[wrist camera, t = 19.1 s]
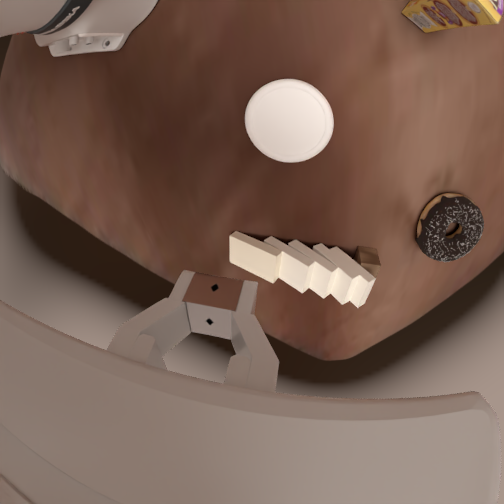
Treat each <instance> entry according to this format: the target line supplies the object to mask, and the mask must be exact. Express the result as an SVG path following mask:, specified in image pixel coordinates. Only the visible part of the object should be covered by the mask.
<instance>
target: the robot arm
mask: <svg viewBox="0 0 504 504" xmlns="http://www.w3.org/2000/svg"><path fill="white" fill-rule="evenodd" d="M157 1H158V0H0V37H2V36H6V35H10V34H15V33H17V35H18V34H19V33H20V32H21V33H22V34H23V33H24V32H27V33H30V34H33V35H34V37H35V40H36V43H37V44H38V45H39V46H41V47H42V46H49V50H50V52H51V54H52V56H54V57H59V56H66V55H73V54H82V53H92V52H105V51H117V50H119V49H120V48H121V47H122V46H123V45H124V43H125V41H126V39H127V38H128V36H129V34H130V32H131V31H132V30H133V29H134V28H135V27H136V26H137V25H139V24H140V23H141V22H142V21H143V20H144V19H145V18H146V17H147V16H148V14H149V13H150V12H151V11H152V9H153V8H154V6H155V4H156V3H157ZM109 42H110V44H109V45H108V43H109ZM257 287H258V282H254V281H247V280H240V279H234V278H227V277H221V276H220V277H219V276H214V275H209V274H204V273H199V272H193V271H188V270H184V271H183V272H182V273H181V275H180V277H179V279H178V280H177V282H176V284H175V287H174V288H173V290H172V292H171V294H170V296H169V298H164V299H162V300H161V301H159V302H158V303H156V304H154V305H153V306H151V307H149V308H148V309H146V310H144V311H143V312H141V313H140V314H138V315H136V316H135V317H133V318H131V319H130V320H128V321H126V322H125V323H123V324H122V325H120V326H119V328H118V330H117V332H116V333H115V335H114V337H113V339H112V341H111V343H110V345H109V347H108V348H107V350H104V349H101V348H98V347H96V346H93V345H90V344H88V343H85V342H83V341H81V340H79V339H76V338H74V337H72V336H69V335H67V334H64V333H63V332H60V331H58V330H56V329H54V328H52V327H50V326H48V325H46V324H44V323H42V322H40V321H38V320H35V319H34V318H32V317H30V316H28V315H26V314H24V313H22V312H20V311H19V310H17V309H15V308H13V307H12V306H9V305H8V304H6V303H5V302H3V301H1V300H0V504H497V502H498V495H499V486H500V475H501V441H500V429H499V422H498V418H497V415H496V412H495V411H494V410H493V408H492V407H491V406H490V404H489V403H488V402H487V401H486V399H485V398H484V397H483V396H482V395H481V394H480V393H479V392H475V391H471V392H464V393H457V394H450V395H440V396H430V397H417V398H398V399H348V398H327V397H314V396H301V395H293V394H284V393H276V392H275V389H276V381H277V374H278V366H279V360H278V358H277V356H276V355H275V353H274V351H273V349H272V347H271V345H270V343H269V341H268V339H267V338H266V336H265V334H264V332H263V330H262V328H261V326H260V324H259V322H258V320H257V319H256V317H255V315H254V311H255V304H256V296H257ZM190 332H197V333H202V334H207V335H213V336H217V337H222V338H226V339H231V341H232V343H233V346H234V349H235V351H236V354H237V355H234V356H232V357H231V358H230V362H229V366H228V369H227V374H226V377H225V381H224V384H222V383H217V382H213V381H208V380H204V379H199V378H195V377H191V376H187V375H183V374H179V373H175V372H172V371H168V370H167V368H166V365H165V363H164V360H163V358H162V357H163V356H164V355H165V354H166V353H167V352H168V351H169V350H171V349H172V348H173V347H174V346H176V345H177V344H178V343H179V342H180V341H181V340H183V339H184V338H185V337H186V336H187V335H189V334H190Z"/></svg>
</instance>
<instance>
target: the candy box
mask: <svg viewBox="0 0 504 504" xmlns="http://www.w3.org/2000/svg"><path fill="white" fill-rule="evenodd" d="M402 14H404V15H405V16H406V17H407V18H409V19H410V20H411V21H412V22H414V23H415V24H416V25H417V26H418V27H419V28H421V29H422V30H423V31H424V32H425V33H428V32H434V31H439V30H445V29H451V28H459V27H467V26H477V25H493V24H499V22H500V21H501V19H502V17H503V15H504V0H411V1H410V2H409V3H408V4H407V6H406V7H405V8H404V10H403V11H402Z"/></svg>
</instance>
